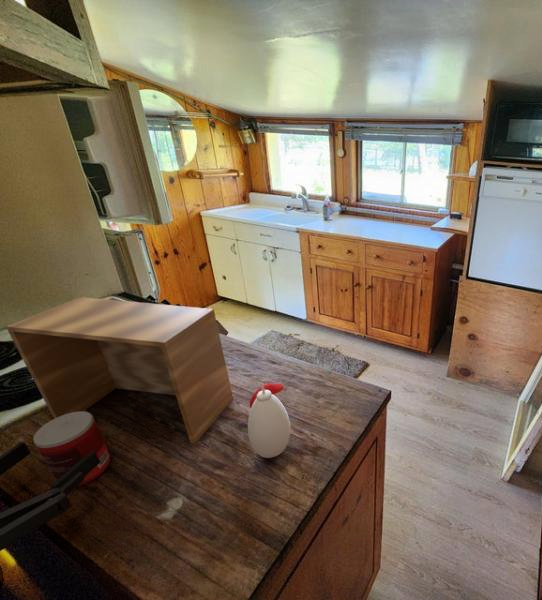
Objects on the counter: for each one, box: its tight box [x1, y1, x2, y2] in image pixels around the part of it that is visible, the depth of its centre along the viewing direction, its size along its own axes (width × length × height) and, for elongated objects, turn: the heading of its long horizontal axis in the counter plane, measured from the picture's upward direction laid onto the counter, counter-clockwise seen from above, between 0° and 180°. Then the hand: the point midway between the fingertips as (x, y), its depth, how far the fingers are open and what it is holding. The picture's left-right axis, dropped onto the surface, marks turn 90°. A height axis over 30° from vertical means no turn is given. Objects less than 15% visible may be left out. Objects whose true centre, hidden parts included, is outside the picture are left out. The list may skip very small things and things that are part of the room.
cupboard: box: [5, 296, 234, 445], centre depth 71 cm, size 32×14×25 cm, turn 84°
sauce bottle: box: [247, 382, 291, 459], centre depth 64 cm, size 8×8×18 cm
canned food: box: [32, 411, 111, 488], centre depth 60 cm, size 8×8×11 cm
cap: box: [249, 382, 285, 409], centre depth 77 cm, size 8×6×6 cm
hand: (60, 451), depth 57 cm, fingers open, 13 cm apart
